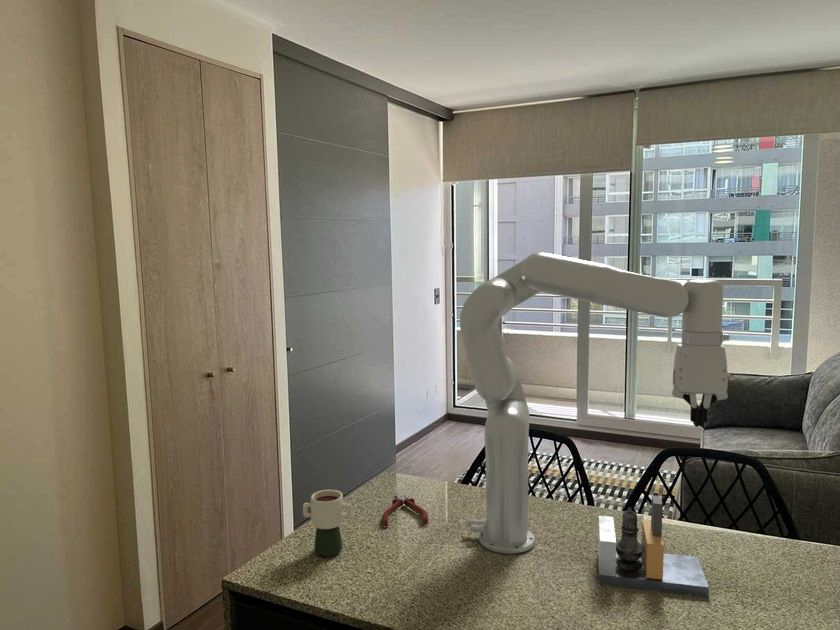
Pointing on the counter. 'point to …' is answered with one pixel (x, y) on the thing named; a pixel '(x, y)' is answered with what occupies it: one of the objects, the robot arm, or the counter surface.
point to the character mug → (327, 520)
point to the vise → (677, 569)
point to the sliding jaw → (653, 541)
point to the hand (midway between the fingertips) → (698, 425)
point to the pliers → (409, 503)
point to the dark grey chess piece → (629, 543)
